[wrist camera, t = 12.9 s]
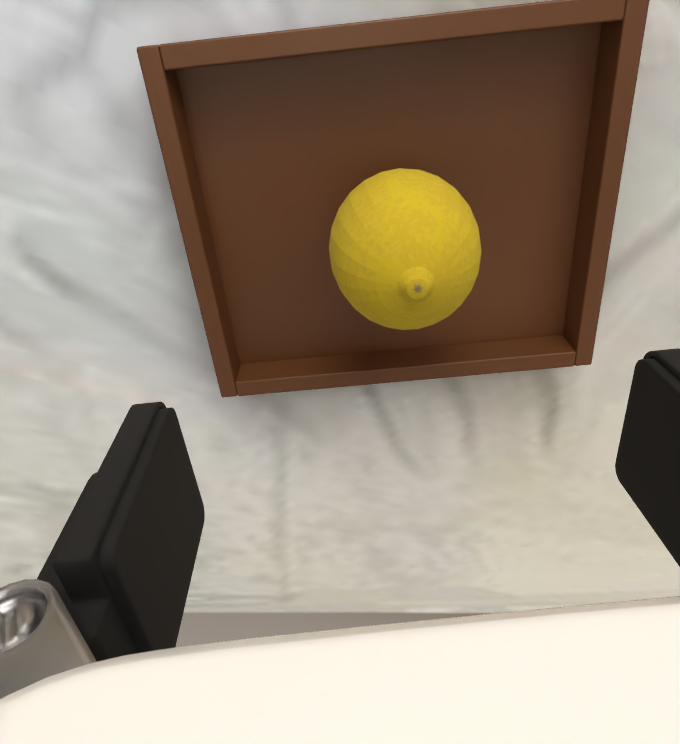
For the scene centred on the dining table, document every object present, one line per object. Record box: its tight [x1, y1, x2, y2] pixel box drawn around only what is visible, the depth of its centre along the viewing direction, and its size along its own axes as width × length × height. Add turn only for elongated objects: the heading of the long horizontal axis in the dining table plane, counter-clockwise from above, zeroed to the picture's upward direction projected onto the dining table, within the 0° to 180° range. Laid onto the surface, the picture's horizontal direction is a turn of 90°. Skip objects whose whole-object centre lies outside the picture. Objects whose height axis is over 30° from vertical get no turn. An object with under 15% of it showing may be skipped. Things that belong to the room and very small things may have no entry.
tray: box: [137, 0, 649, 397], centre depth 24 cm, size 18×15×3 cm
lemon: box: [329, 168, 481, 330], centre depth 21 cm, size 6×6×8 cm
